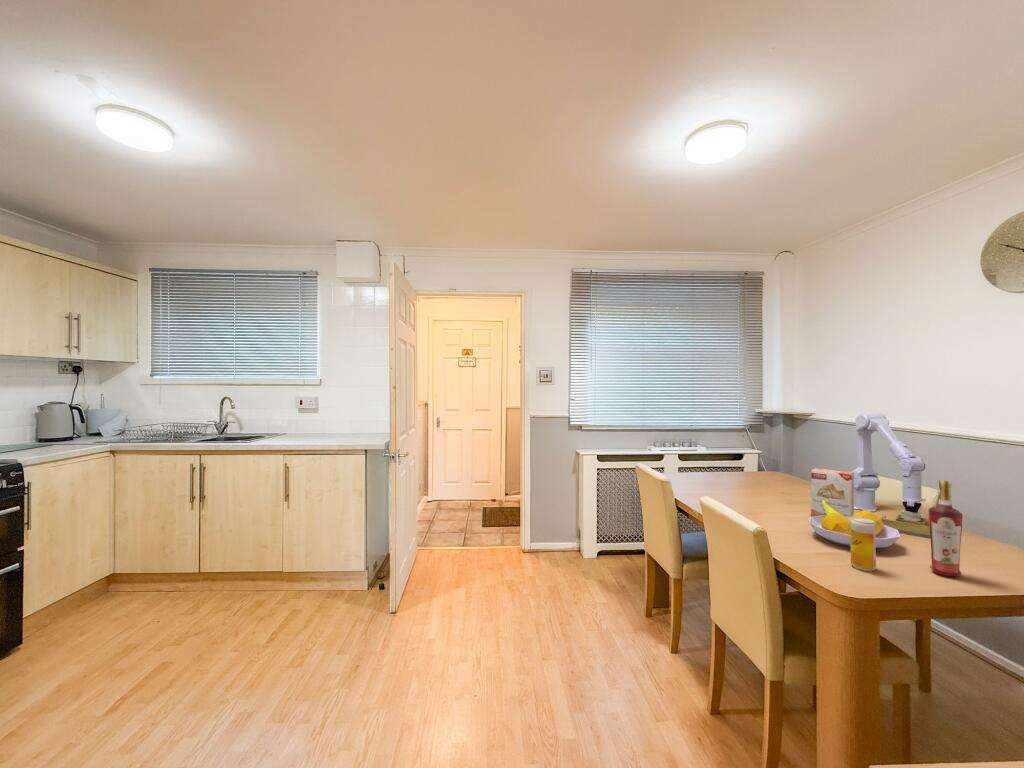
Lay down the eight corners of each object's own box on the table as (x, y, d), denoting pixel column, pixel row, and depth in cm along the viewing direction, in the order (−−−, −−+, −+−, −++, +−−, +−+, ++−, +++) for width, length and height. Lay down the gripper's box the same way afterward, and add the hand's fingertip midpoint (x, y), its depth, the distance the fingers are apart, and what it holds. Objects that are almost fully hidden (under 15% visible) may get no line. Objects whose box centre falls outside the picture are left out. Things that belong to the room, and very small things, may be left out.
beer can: (851, 562, 141) (851, 515, 141) (875, 567, 137) (875, 519, 137) (850, 568, 137) (850, 520, 137) (875, 573, 133) (875, 524, 133)
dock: (883, 520, 185) (882, 510, 185) (942, 530, 172) (942, 519, 172) (877, 528, 174) (877, 518, 174) (941, 540, 161) (941, 529, 161)
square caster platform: (897, 521, 181) (897, 508, 181) (927, 526, 175) (927, 512, 175) (895, 525, 174) (895, 512, 174) (925, 531, 168) (925, 517, 168)
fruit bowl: (917, 560, 143) (917, 525, 143) (820, 550, 152) (820, 517, 152) (878, 532, 170) (878, 503, 170) (797, 525, 178) (796, 497, 179)
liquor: (961, 573, 133) (961, 481, 133) (963, 582, 127) (963, 485, 127) (928, 567, 138) (927, 477, 138) (929, 574, 132) (928, 481, 132)
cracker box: (810, 518, 188) (810, 469, 188) (813, 515, 192) (813, 467, 193) (851, 525, 178) (851, 473, 178) (854, 522, 183) (853, 471, 183)
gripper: (924, 491, 171) (924, 526, 171) (926, 485, 181) (926, 518, 181) (900, 488, 176) (900, 522, 176) (903, 483, 186) (903, 515, 186)
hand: (911, 520), depth 179 cm, fingers closed
